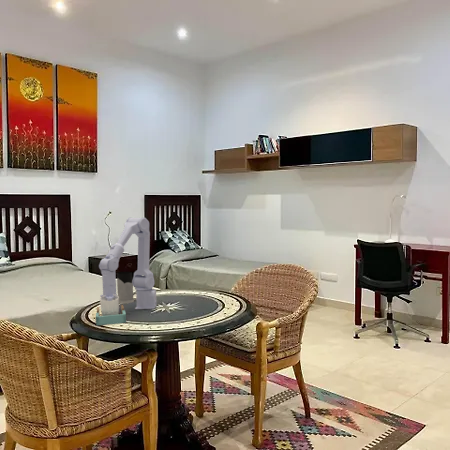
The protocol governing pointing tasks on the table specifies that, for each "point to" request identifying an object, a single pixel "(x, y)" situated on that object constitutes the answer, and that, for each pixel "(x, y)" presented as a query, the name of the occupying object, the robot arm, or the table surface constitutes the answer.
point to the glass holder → (125, 287)
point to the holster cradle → (121, 308)
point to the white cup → (109, 306)
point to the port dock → (111, 319)
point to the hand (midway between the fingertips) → (110, 315)
